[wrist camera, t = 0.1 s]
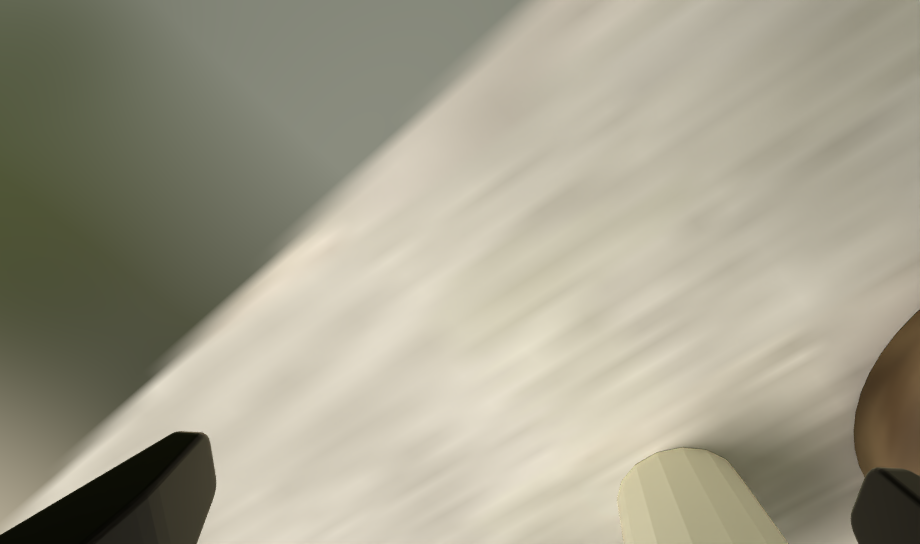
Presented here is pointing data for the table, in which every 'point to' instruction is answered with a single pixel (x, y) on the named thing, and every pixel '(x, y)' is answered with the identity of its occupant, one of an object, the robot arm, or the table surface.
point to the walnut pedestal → (892, 406)
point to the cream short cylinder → (691, 502)
